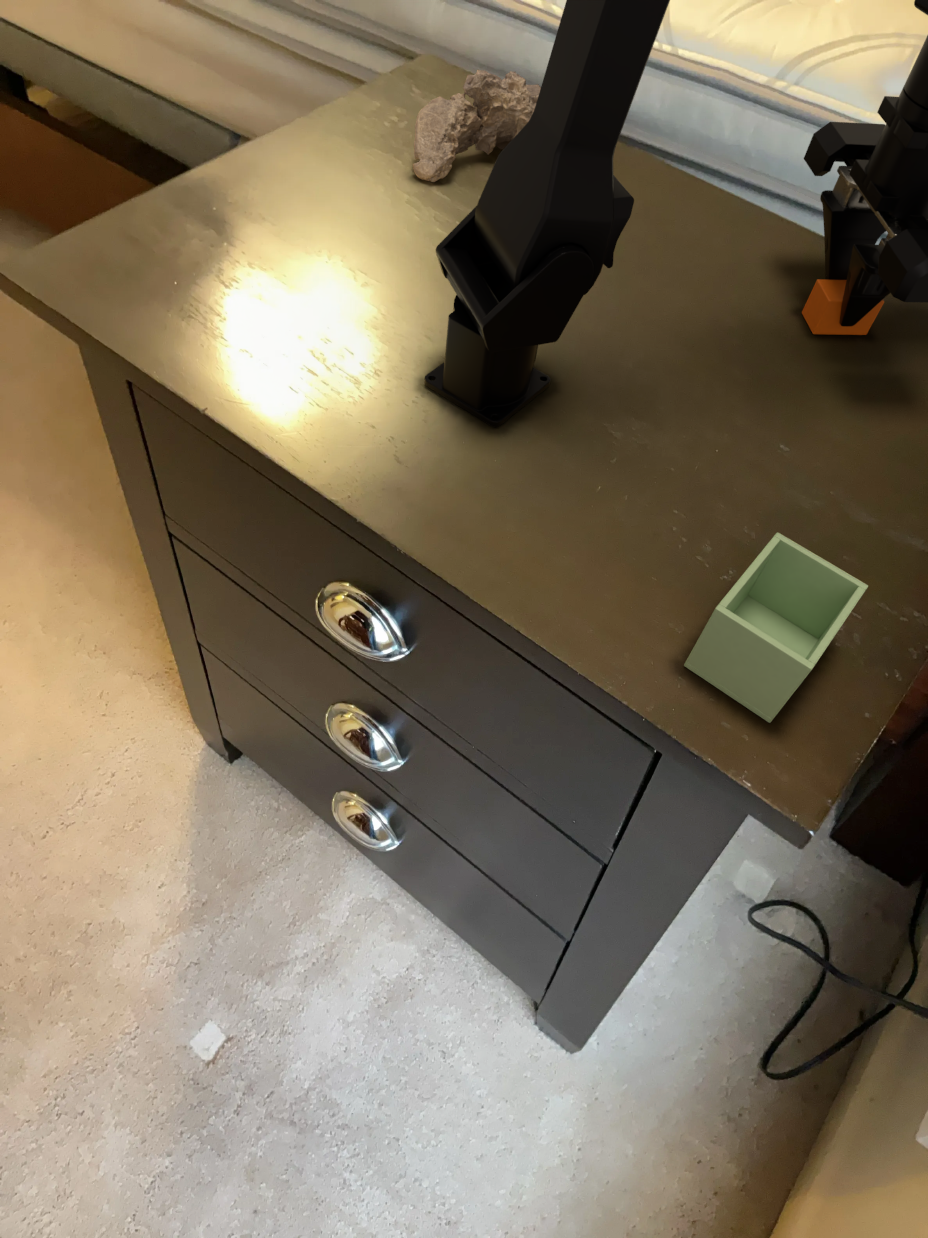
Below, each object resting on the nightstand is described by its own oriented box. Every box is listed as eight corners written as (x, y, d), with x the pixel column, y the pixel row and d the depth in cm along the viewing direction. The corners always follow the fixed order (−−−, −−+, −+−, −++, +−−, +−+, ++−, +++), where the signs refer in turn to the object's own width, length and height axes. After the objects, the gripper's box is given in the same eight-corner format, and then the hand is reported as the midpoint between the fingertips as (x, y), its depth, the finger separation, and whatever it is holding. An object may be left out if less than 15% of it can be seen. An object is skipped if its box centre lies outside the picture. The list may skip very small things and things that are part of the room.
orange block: (812, 334, 67) (829, 300, 65) (800, 312, 69) (816, 278, 66) (866, 335, 68) (885, 301, 65) (853, 313, 69) (871, 279, 67)
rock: (397, 152, 77) (400, 65, 71) (540, 136, 82) (553, 52, 76) (421, 186, 74) (426, 98, 68) (568, 168, 79) (584, 83, 73)
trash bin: (769, 723, 46) (812, 669, 42) (683, 665, 48) (715, 608, 43) (824, 643, 49) (868, 585, 45) (742, 591, 51) (777, 531, 47)
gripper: (1143, 180, 50) (987, 392, 63) (996, 42, 61) (888, 247, 74) (968, 173, 49) (845, 392, 61) (849, 32, 59) (765, 243, 72)
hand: (839, 312), depth 67 cm, fingers closed on orange block, 3 cm apart
